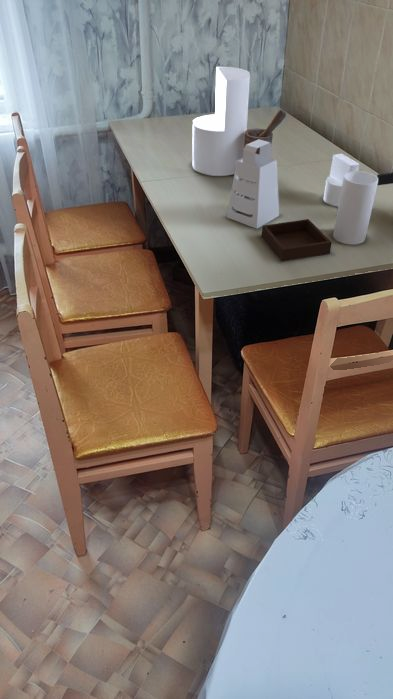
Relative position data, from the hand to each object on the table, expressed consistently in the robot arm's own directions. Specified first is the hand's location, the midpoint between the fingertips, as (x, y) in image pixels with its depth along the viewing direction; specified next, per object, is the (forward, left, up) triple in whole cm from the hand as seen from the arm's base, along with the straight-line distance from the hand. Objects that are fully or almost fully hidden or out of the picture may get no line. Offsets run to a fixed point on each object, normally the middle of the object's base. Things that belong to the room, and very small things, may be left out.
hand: (391, 190), depth 137 cm
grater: (+34, +8, -12) cm, 37 cm away
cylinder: (+59, -21, -12) cm, 64 cm away
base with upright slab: (+16, -14, -12) cm, 24 cm away
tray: (+18, +18, -12) cm, 28 cm away
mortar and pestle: (+44, -21, -12) cm, 50 cm away
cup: (+7, +7, -12) cm, 15 cm away
